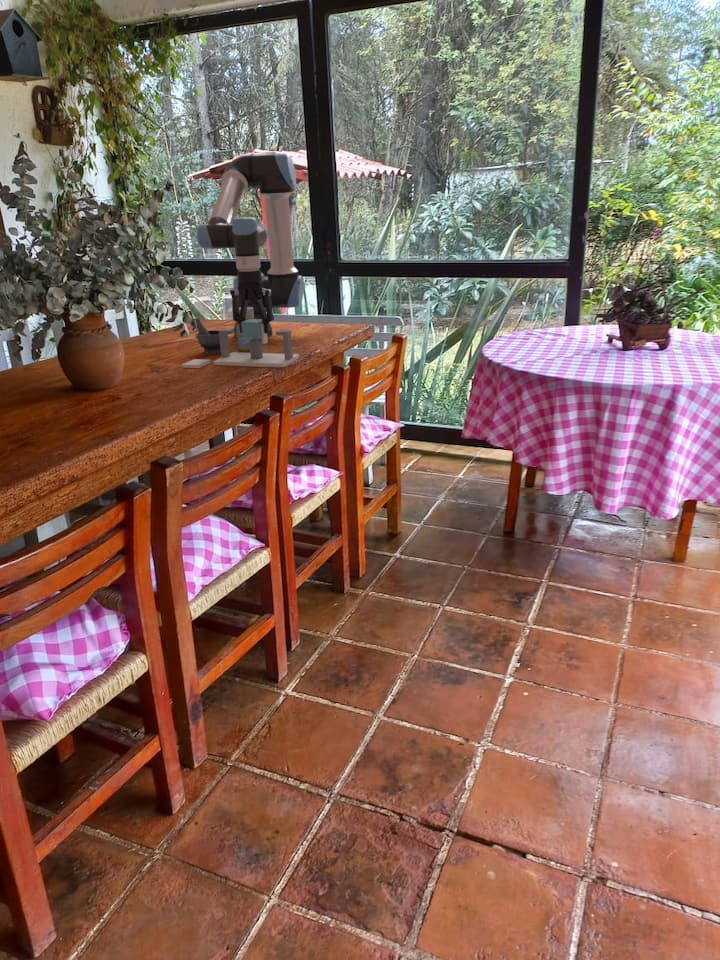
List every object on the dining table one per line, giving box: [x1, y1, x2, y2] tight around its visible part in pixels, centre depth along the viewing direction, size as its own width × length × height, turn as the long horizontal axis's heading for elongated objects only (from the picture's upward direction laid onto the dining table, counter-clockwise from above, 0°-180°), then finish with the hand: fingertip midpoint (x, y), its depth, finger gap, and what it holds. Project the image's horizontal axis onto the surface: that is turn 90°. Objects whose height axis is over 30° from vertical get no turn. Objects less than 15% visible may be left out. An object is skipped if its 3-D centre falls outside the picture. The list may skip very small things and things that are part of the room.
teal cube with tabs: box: [239, 319, 270, 343], centre depth 226 cm, size 6×19×5 cm, turn 163°
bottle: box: [234, 307, 255, 353], centre depth 243 cm, size 7×7×15 cm
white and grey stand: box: [213, 328, 300, 368], centre depth 228 cm, size 14×24×11 cm, turn 73°
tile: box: [181, 358, 212, 369], centre depth 228 cm, size 8×6×1 cm
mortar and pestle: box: [195, 317, 221, 355], centre depth 244 cm, size 11×9×12 cm
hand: (255, 342), depth 228 cm, fingers closed on teal cube with tabs, 6 cm apart
